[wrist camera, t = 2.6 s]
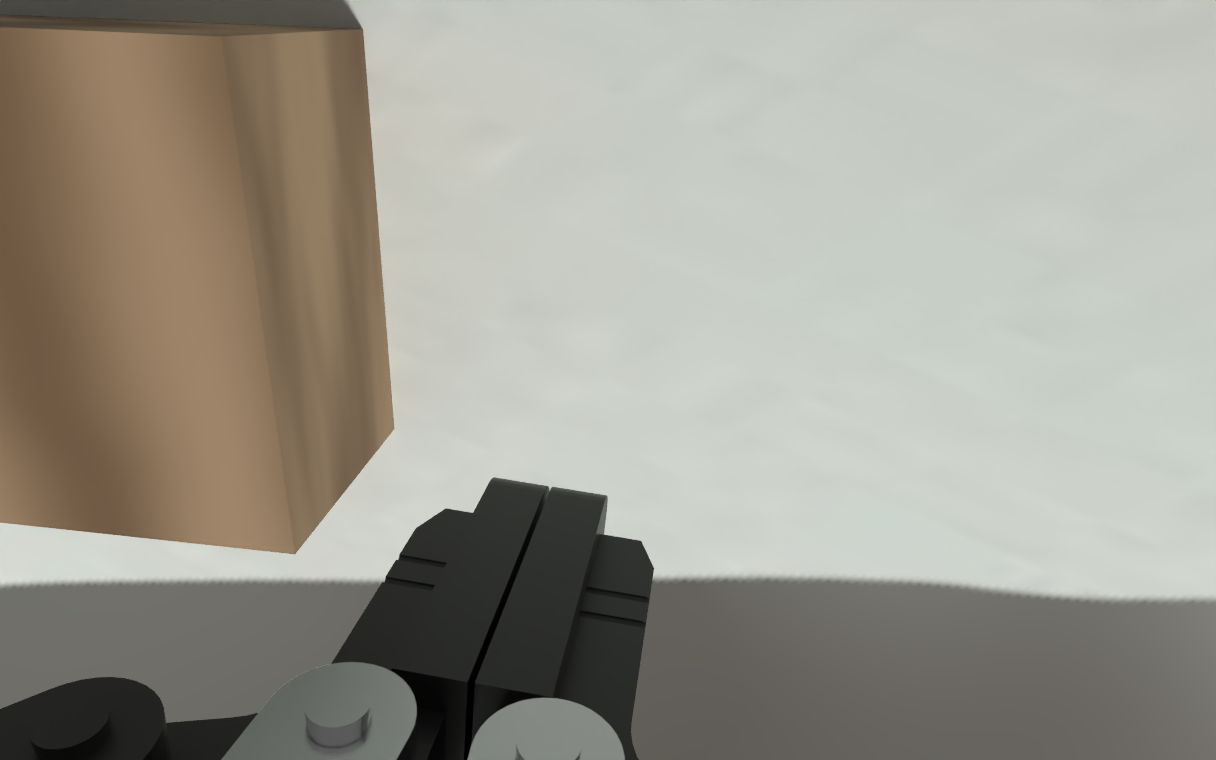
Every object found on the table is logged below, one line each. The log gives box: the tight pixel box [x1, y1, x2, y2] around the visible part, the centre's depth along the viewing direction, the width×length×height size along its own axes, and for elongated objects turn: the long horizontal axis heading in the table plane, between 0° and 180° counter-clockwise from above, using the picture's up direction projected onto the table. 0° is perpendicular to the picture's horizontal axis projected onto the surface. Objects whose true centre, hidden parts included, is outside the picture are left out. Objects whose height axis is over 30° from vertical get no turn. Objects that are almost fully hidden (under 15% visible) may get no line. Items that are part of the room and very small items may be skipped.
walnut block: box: [0, 15, 394, 554], centre depth 19 cm, size 10×10×6 cm
